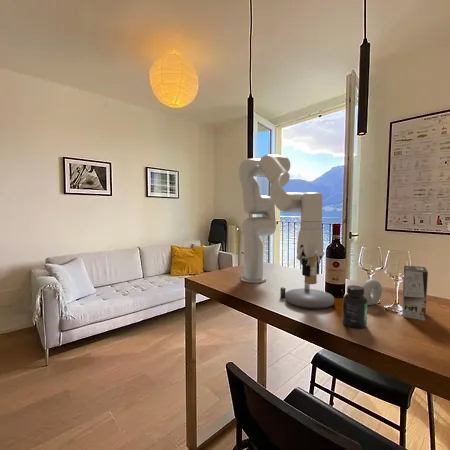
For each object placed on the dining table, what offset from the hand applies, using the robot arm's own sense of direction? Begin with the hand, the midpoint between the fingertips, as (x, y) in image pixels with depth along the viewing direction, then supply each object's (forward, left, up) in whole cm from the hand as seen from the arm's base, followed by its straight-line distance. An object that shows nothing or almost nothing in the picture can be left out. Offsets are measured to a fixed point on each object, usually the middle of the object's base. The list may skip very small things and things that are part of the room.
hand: (310, 274), depth 103 cm
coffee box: (+26, +22, -12) cm, 36 cm away
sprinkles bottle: (0, 0, -4) cm, 4 cm away
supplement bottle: (+19, -2, -12) cm, 22 cm away
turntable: (-3, +3, -11) cm, 11 cm away
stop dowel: (-12, -2, -12) cm, 17 cm away
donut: (+13, +19, -12) cm, 26 cm away
